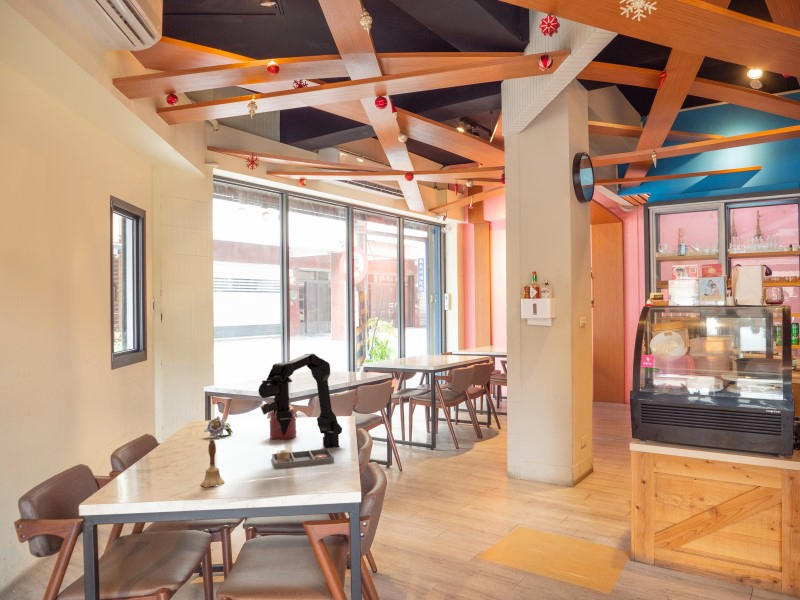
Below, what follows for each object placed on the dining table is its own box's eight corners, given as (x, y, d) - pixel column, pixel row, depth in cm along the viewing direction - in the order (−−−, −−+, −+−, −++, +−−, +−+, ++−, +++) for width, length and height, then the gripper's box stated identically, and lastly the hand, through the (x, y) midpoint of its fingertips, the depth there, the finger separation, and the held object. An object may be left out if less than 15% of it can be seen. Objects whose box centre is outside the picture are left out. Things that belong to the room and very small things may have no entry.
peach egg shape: (326, 456, 243) (326, 453, 243) (327, 459, 239) (327, 456, 239) (314, 457, 242) (314, 455, 242) (315, 460, 237) (315, 457, 237)
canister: (300, 434, 293) (299, 399, 293) (291, 440, 280) (290, 403, 281) (275, 434, 295) (274, 399, 296) (265, 440, 283) (264, 403, 283)
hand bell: (229, 481, 214) (228, 437, 214) (215, 488, 206) (213, 443, 206) (210, 480, 216) (209, 437, 217) (195, 486, 208) (194, 442, 209)
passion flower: (216, 448, 292) (200, 430, 289) (218, 440, 302) (203, 422, 299) (234, 435, 292) (219, 417, 289) (236, 427, 303) (221, 409, 300)
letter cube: (288, 460, 239) (288, 449, 239) (289, 463, 235) (289, 451, 235) (277, 461, 238) (277, 450, 238) (278, 464, 233) (278, 453, 234)
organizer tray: (327, 454, 249) (327, 448, 249) (334, 463, 234) (333, 457, 234) (272, 460, 243) (271, 454, 243) (274, 469, 227) (274, 463, 227)
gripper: (260, 393, 243) (261, 430, 243) (262, 399, 226) (263, 439, 225) (287, 391, 247) (288, 428, 246) (291, 397, 229) (292, 436, 228)
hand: (282, 432), depth 236 cm, fingers open, 9 cm apart
